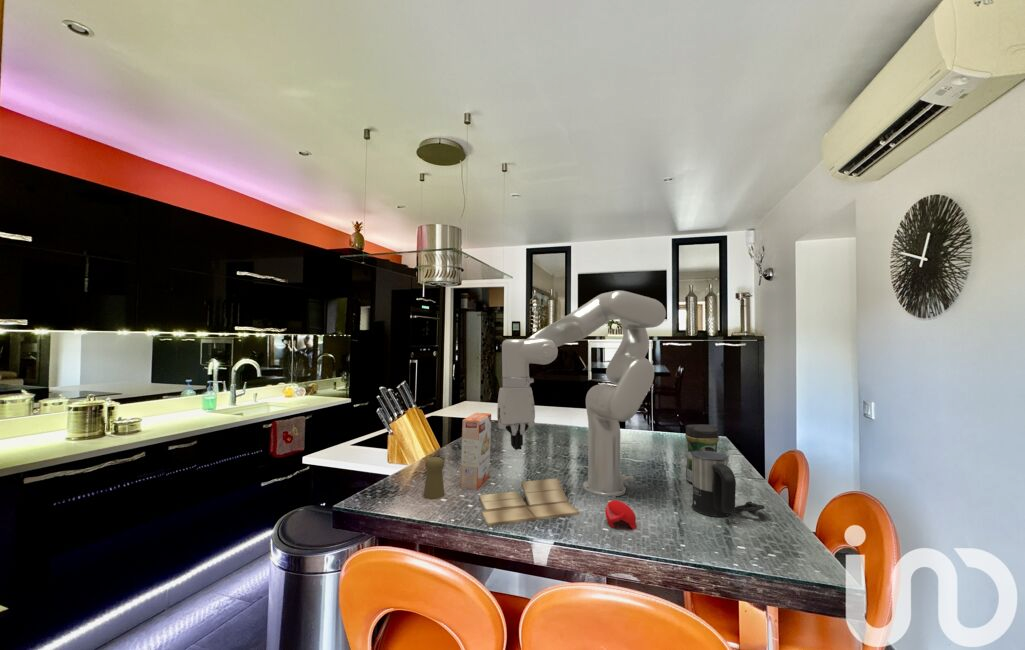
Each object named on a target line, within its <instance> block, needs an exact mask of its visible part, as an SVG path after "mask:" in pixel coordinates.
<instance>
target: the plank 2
mask: <svg viewBox="0 0 1025 650" xmlns="http://www.w3.org/2000/svg"><path fill="white" fill-rule="evenodd" d="M520 486H521V487H522V491H523V494H524V497H525V499H526V502H527V503H526V504H527V506H530V505H539V504H547V503H556V502H564V501H568V502H569V499H568V497H567V496H566V494H565V491H564V489H563V486H562V485H561V483H560V481H559V479H558V478H557V477H556V478H548V479H545V478H544V479H537V480H536V479H535V480H527V481H526V480H525V481H521V484H520Z"/></svg>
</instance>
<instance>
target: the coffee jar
mask: <svg viewBox="0 0 1025 650" xmlns="http://www.w3.org/2000/svg"><path fill="white" fill-rule="evenodd" d="M684 435H685V439H686V443H687V458H686V466H685V467H686V470H685V479H686V481H687V482H688V483H689V482H690V483H689V484H691V483H692V485H693V480H692V455H691V452H692V451H713V452H718V443H719V440H720V436H719V430H718V428H717V426H715V425H712V424H703V423H702V424H700V423H699V424H697V423H696V424H687V425H686V426H685V434H684Z"/></svg>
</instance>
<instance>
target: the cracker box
mask: <svg viewBox="0 0 1025 650" xmlns="http://www.w3.org/2000/svg"><path fill="white" fill-rule="evenodd" d="M461 427H462V428H461V431H462V432H461V457H460V460H461V461H460V464H461V465H460V484H459V486H460V487H459V488H460V489H464V490H474V491H475V490H476V491H478V490H479V489H480V488H481V486H482V485H483V484H484V483H485V482H486V481H487V480H488V479H489V478H490V469H491V468H490V467H491V464H490V463H491V462H490V461H491V460H490V459H491V436H492V413H489V412H488V413H487V412H475V413H473V414H471V415H469V416H467V417H466V418H464V419H462V426H461Z"/></svg>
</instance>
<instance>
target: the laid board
mask: <svg viewBox="0 0 1025 650" xmlns="http://www.w3.org/2000/svg"><path fill="white" fill-rule="evenodd" d="M480 515H481V516H482V518H483V519H484V521H485V523H486V525H487V526H488V527H491V526H492V527H493V526H501V525H508V524H516V523H523V522H531V521H537V520H538V521H539V520H546V519H548V520H549V519H553V518H562V517H569V516H570V517H571V516H577V515H580V511H579V510H578V509H577V508H575V506H574V505H572V504H571V503H570V502H569V500H568V501H564V502H556V503H547V504H539V505H530V506H529V505H526V506H521V507H513V508H504V509H495V510H487V511H485V510H481V511H480Z"/></svg>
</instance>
